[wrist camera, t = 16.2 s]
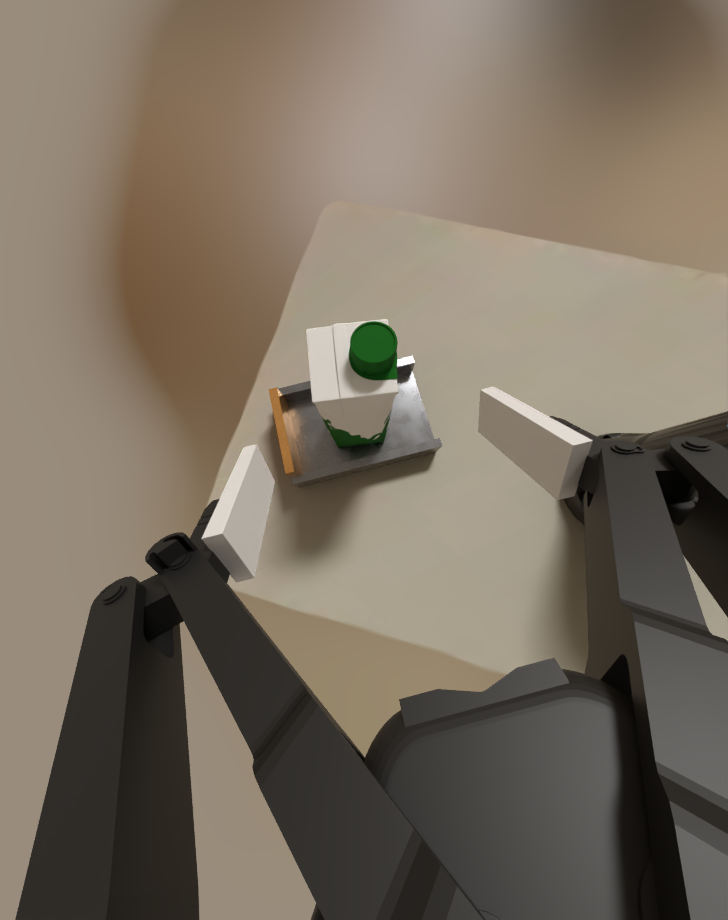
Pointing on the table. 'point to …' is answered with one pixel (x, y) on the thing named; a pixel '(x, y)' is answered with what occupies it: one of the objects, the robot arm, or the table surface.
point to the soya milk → (354, 379)
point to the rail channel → (321, 459)
